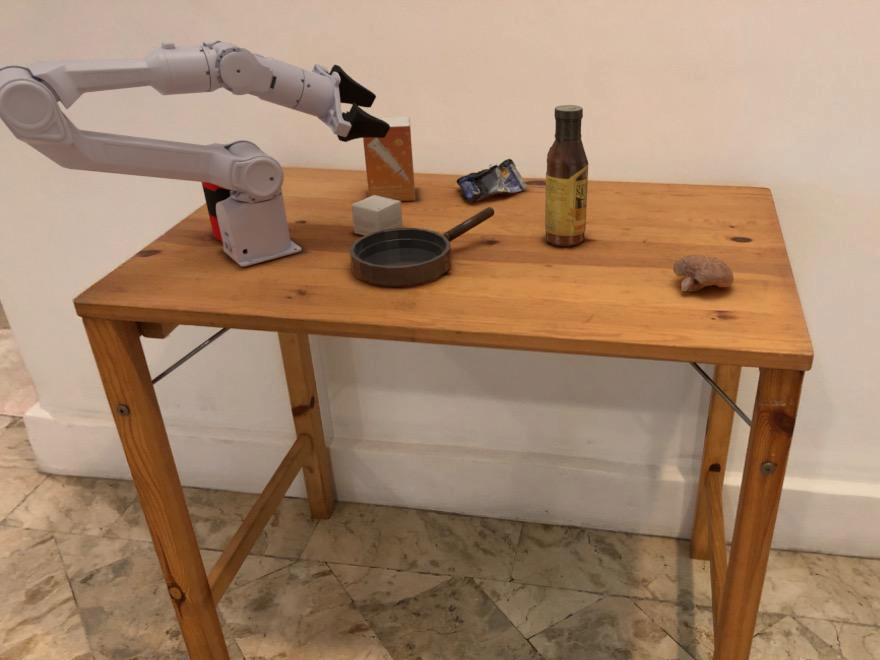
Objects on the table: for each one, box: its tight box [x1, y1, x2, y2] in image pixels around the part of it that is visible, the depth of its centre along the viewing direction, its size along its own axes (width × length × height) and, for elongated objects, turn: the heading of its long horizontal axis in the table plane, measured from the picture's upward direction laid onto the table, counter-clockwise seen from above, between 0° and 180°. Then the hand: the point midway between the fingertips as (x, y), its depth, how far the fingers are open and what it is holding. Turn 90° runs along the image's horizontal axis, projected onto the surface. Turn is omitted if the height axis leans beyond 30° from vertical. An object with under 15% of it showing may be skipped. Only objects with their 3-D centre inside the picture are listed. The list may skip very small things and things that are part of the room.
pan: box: [349, 227, 452, 288], centre depth 113 cm, size 14×14×3 cm
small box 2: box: [351, 195, 404, 236], centre depth 124 cm, size 6×6×5 cm
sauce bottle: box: [544, 104, 589, 247], centre depth 117 cm, size 6×6×20 cm
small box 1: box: [362, 115, 416, 202], centre depth 136 cm, size 8×6×13 cm
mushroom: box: [672, 254, 734, 292], centre depth 107 cm, size 8×6×8 cm
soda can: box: [201, 182, 231, 243], centre depth 122 cm, size 8×8×12 cm
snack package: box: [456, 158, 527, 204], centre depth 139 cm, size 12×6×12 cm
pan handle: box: [442, 206, 495, 243], centre depth 118 cm, size 9×2×4 cm, turn 127°
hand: (379, 115), depth 120 cm, fingers open, 7 cm apart
